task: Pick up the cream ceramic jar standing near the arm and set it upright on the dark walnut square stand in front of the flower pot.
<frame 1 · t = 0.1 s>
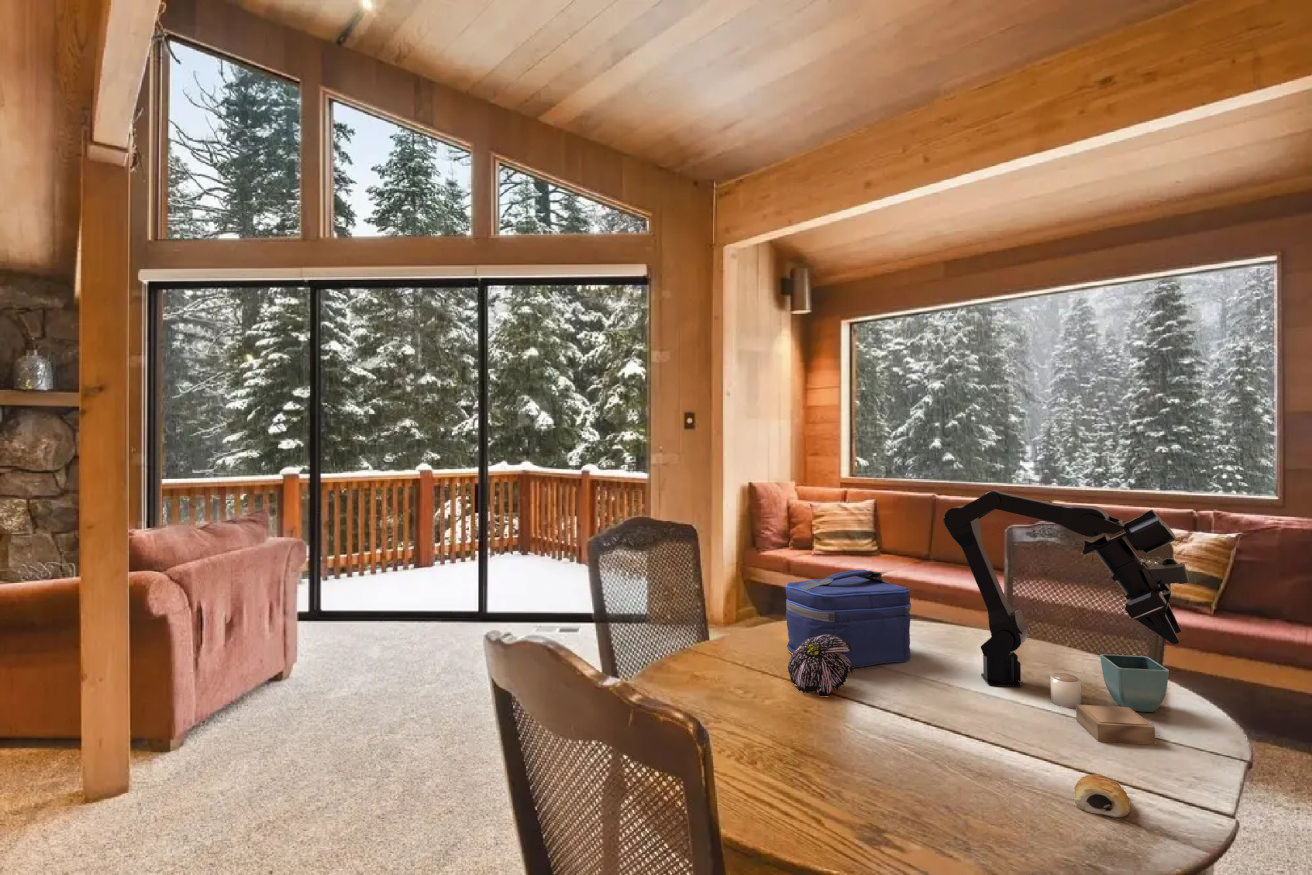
hand: (1177, 637, 130), 15 cm above the table, tool tilted 30°, fingers open, 9 cm apart
pastry: (1100, 805, 100), on the table
jar: (1065, 703, 137), on the table
flower pot: (1134, 708, 135), on the table
stand: (1114, 731, 124), on the table
lunch bag: (848, 655, 170), on the table
decorative flower: (819, 686, 149), on the table
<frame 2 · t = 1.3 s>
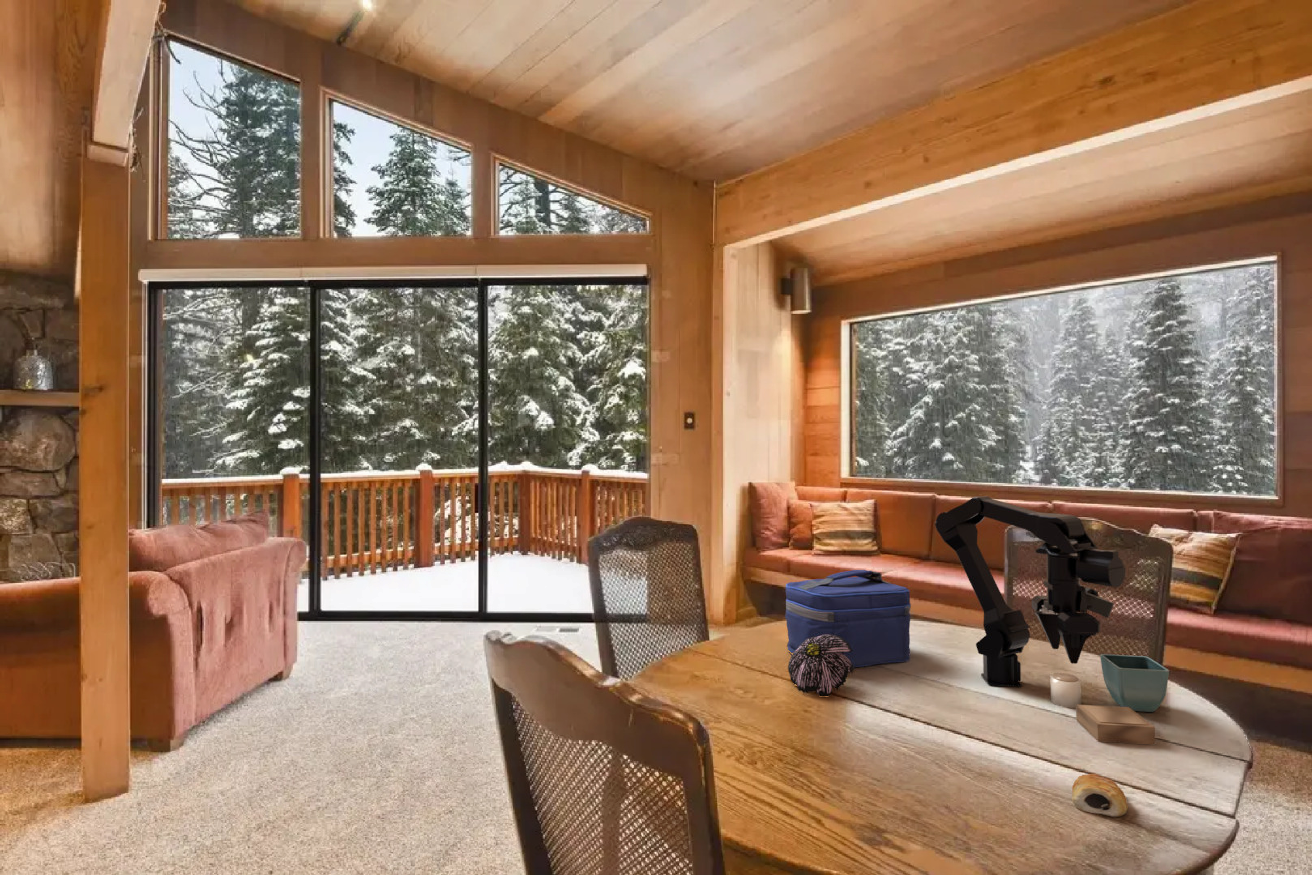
hand: (1064, 655, 138), 9 cm above the table, tool pointing down, fingers open, 9 cm apart
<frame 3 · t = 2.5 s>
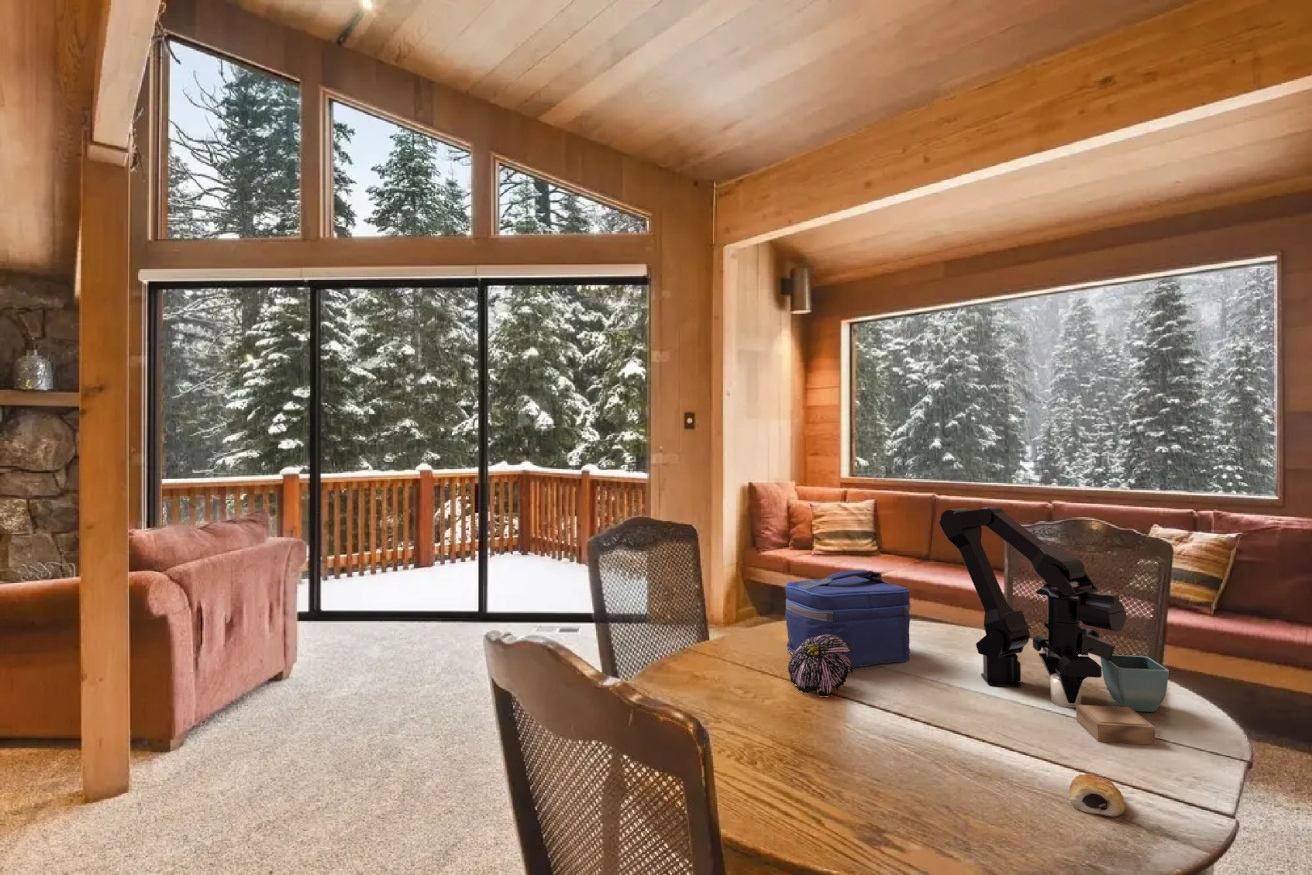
hand: (1065, 697, 137), 1 cm above the table, tool pointing down, fingers closed on jar, 5 cm apart
jar: (1065, 702, 137), on the table, touching gripper
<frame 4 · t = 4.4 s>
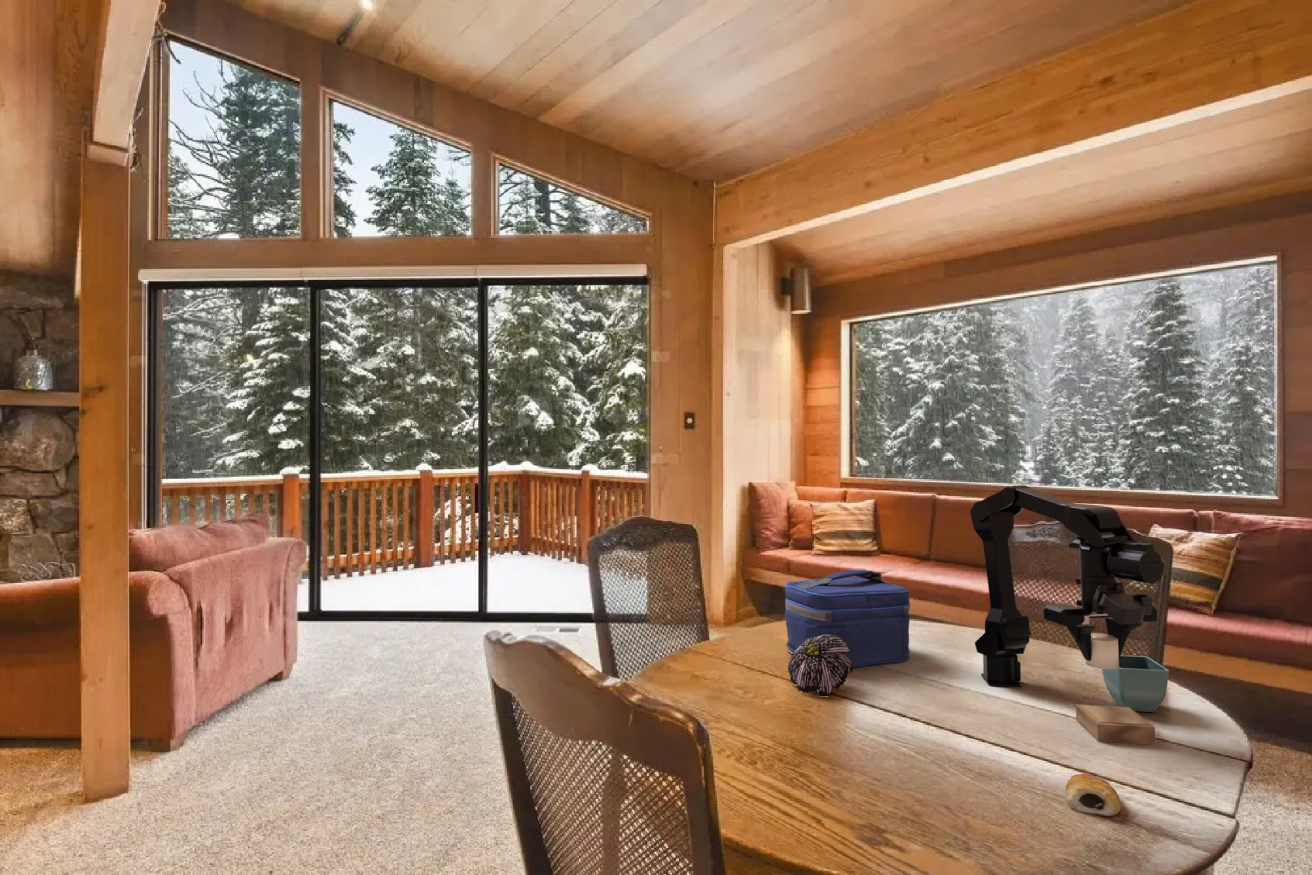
hand: (1101, 659, 127), 12 cm above the table, tool pointing down, fingers closed on jar, 5 cm apart
jar: (1102, 664, 127), point 11 cm above the table, touching gripper
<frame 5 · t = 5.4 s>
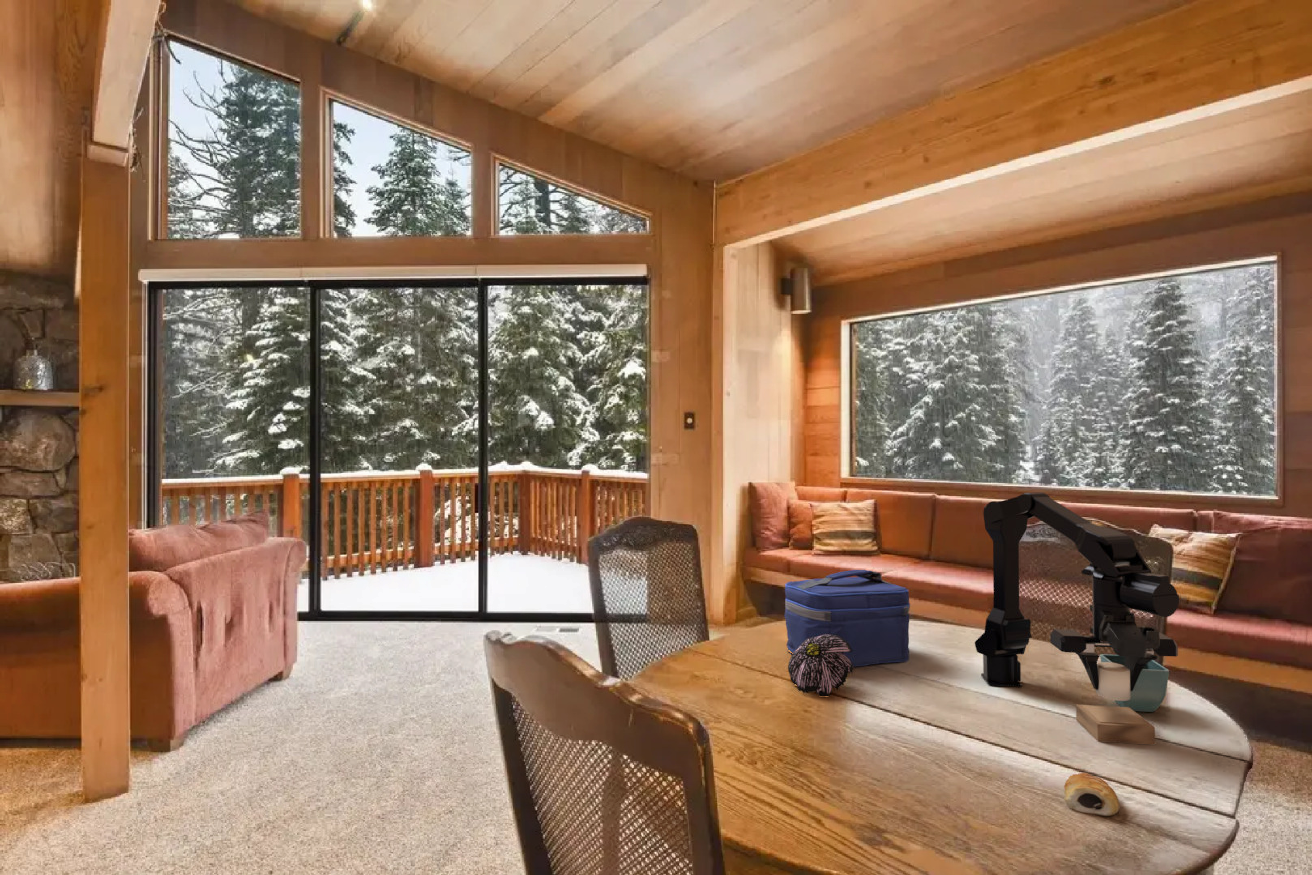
hand: (1112, 689, 124), 8 cm above the table, tool pointing down, fingers closed on jar, 5 cm apart
jar: (1112, 695, 124), point 7 cm above the table, touching gripper
when the fingers open (5 cm above the table, at t = 6.2 s): jar drops 1 cm, resting on stand.
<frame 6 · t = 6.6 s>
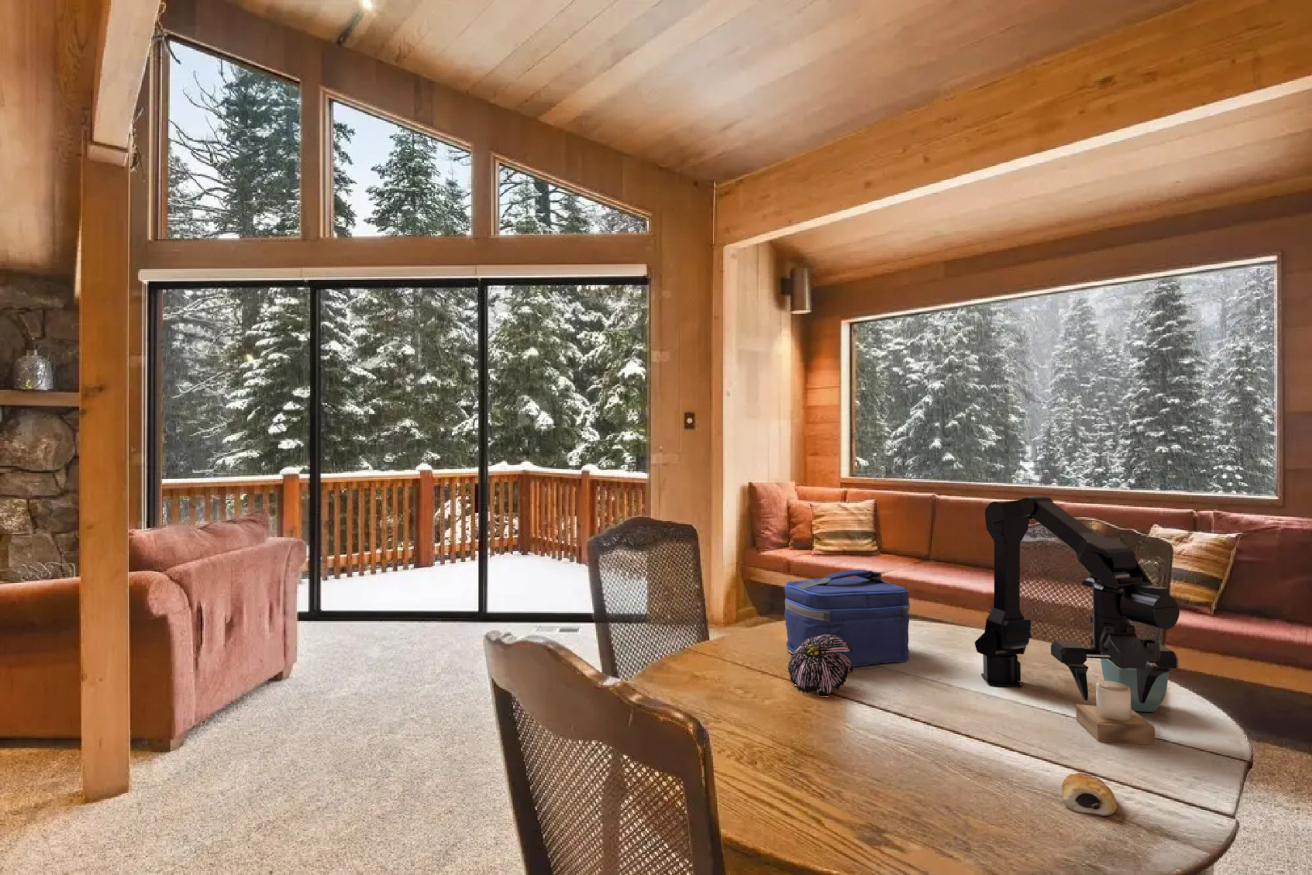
hand: (1113, 701, 124), 5 cm above the table, tool pointing down, fingers open, 9 cm apart
jar: (1113, 714, 124), point 3 cm above the table, touching stand
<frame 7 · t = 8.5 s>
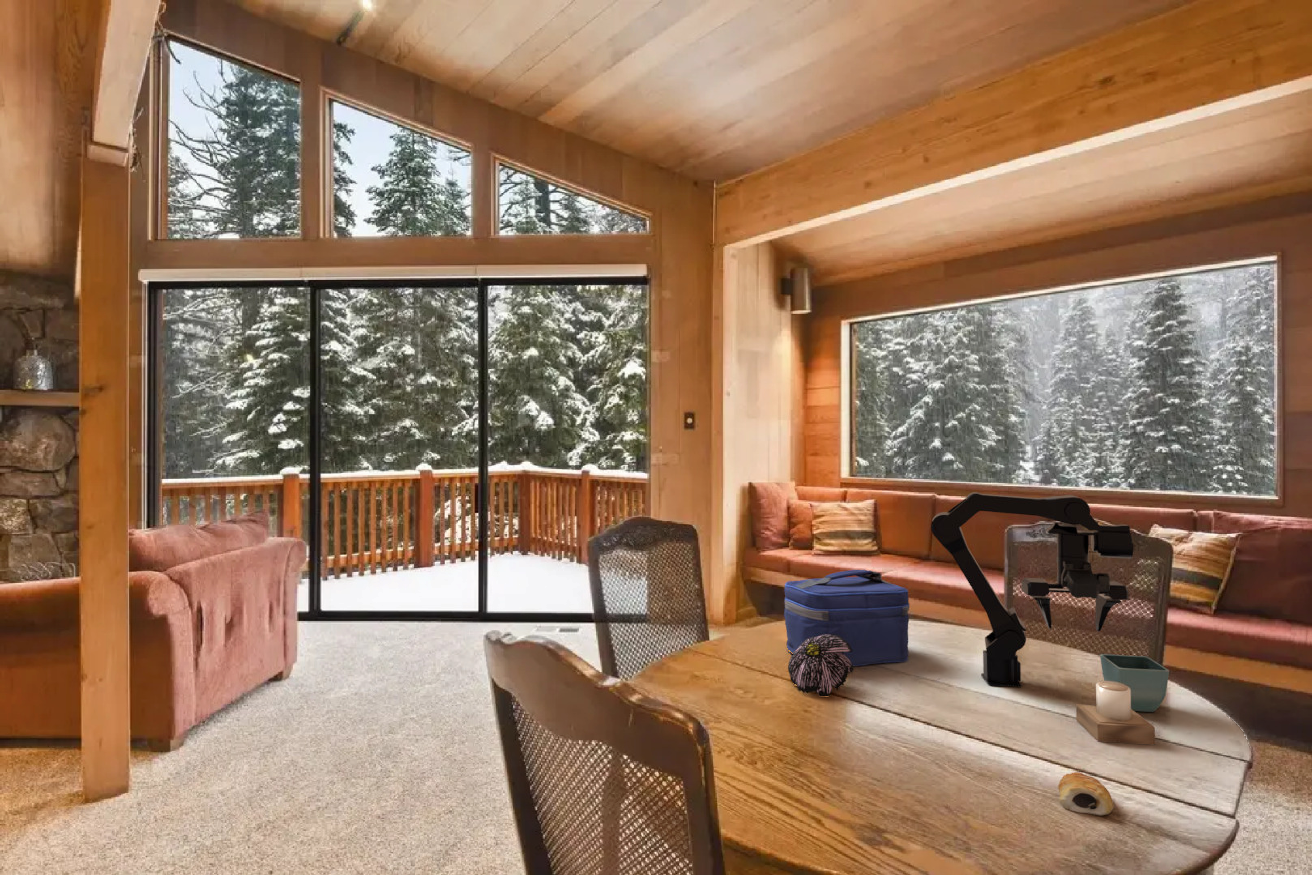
hand: (1073, 629, 144), 13 cm above the table, tool pointing down, fingers open, 9 cm apart
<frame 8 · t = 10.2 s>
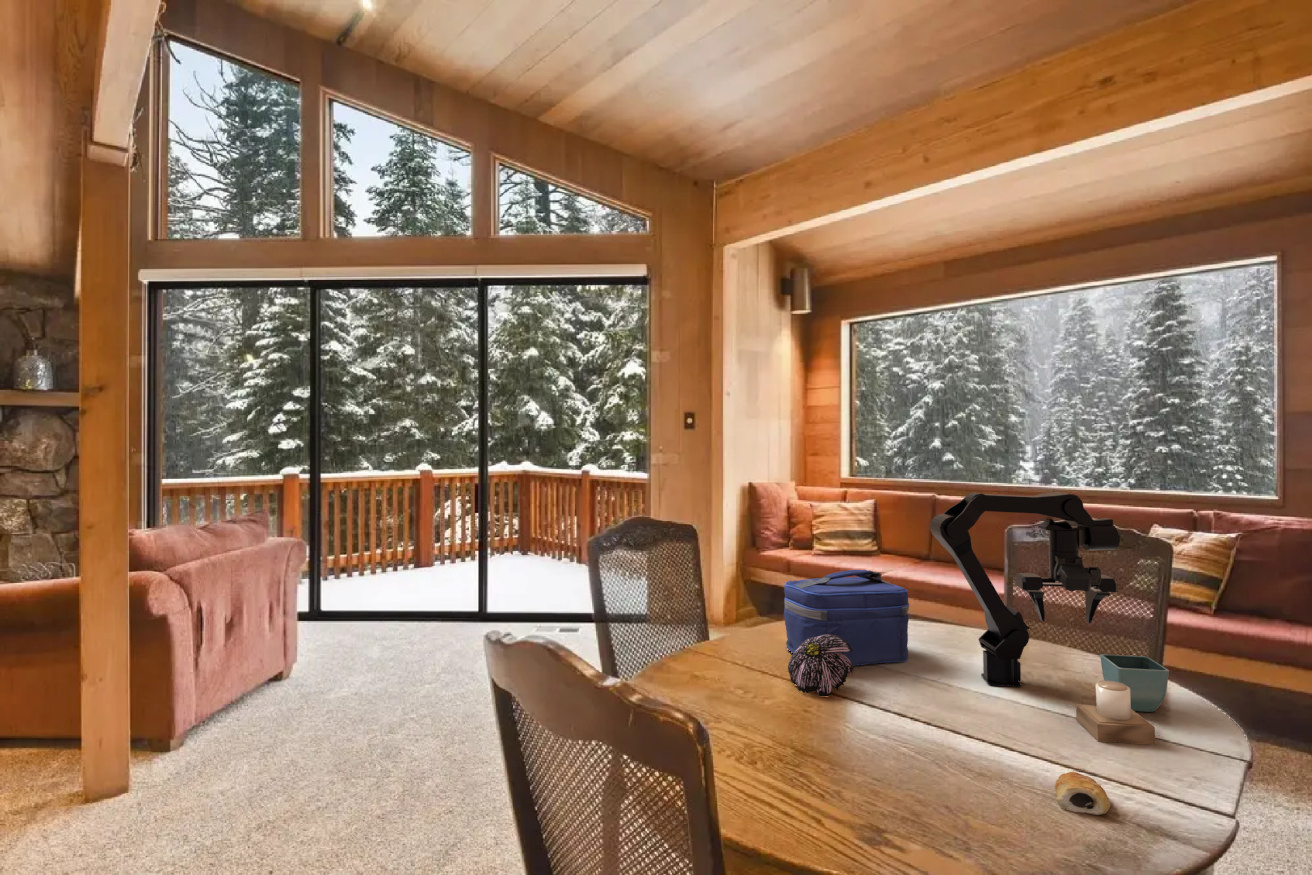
hand: (1065, 621, 149), 13 cm above the table, tool pointing down, fingers open, 9 cm apart
at the end: jar 0.0 cm off-centre on the stand, point 3.2 cm above the stand's base; jar tilted 1°; the gripper is holding nothing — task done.
